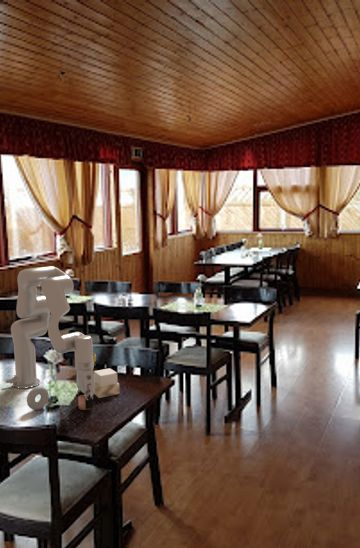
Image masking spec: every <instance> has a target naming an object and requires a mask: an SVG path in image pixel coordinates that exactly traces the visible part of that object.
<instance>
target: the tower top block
mask: <svg viewBox="0 0 360 548" xmlns="http://www.w3.org/2000/svg"><path fill="white" fill-rule="evenodd" d="M93 374H94V382H95V383H97V384H98V385H99V386H101V387H103V386H108V385H113V384H117V383H118V372H117V371H115V370H113V369H112V368H105V369H104V368H103V369H100V370H99V369H98V370H93Z"/></svg>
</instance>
